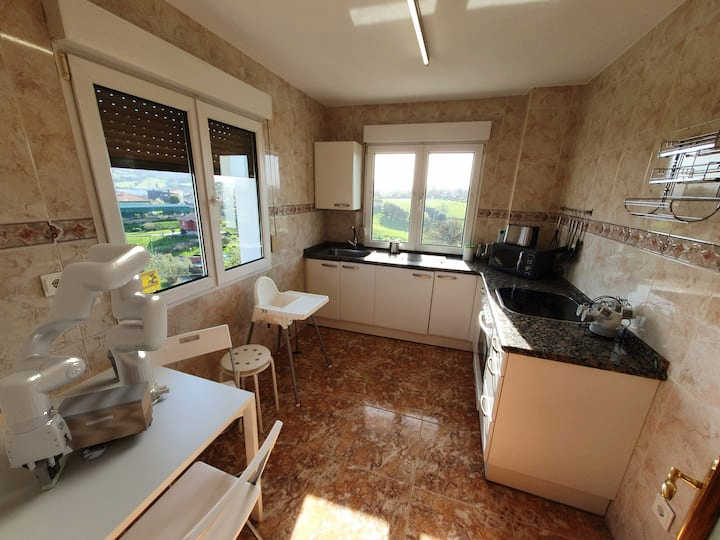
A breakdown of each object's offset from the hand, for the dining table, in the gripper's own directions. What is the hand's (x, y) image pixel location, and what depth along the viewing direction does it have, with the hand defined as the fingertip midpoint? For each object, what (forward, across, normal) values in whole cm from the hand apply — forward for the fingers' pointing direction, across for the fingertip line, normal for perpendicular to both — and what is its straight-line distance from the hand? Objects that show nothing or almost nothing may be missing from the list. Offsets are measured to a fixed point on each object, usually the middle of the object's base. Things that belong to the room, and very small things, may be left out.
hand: (50, 476), depth 74 cm
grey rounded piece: (+2, -7, -6) cm, 10 cm away
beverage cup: (+3, -4, -48) cm, 48 cm away
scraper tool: (+2, 0, -3) cm, 4 cm away
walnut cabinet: (+2, -10, -11) cm, 15 cm away
